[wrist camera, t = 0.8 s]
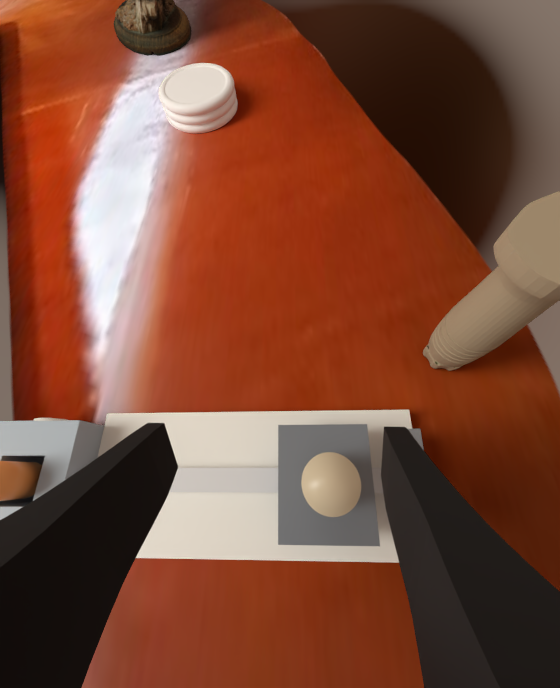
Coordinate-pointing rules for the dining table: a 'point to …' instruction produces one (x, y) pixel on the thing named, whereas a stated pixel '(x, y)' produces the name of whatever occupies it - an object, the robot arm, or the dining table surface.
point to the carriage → (326, 486)
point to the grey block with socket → (48, 451)
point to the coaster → (198, 97)
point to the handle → (505, 289)
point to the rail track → (245, 484)
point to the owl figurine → (151, 26)
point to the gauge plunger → (18, 479)
